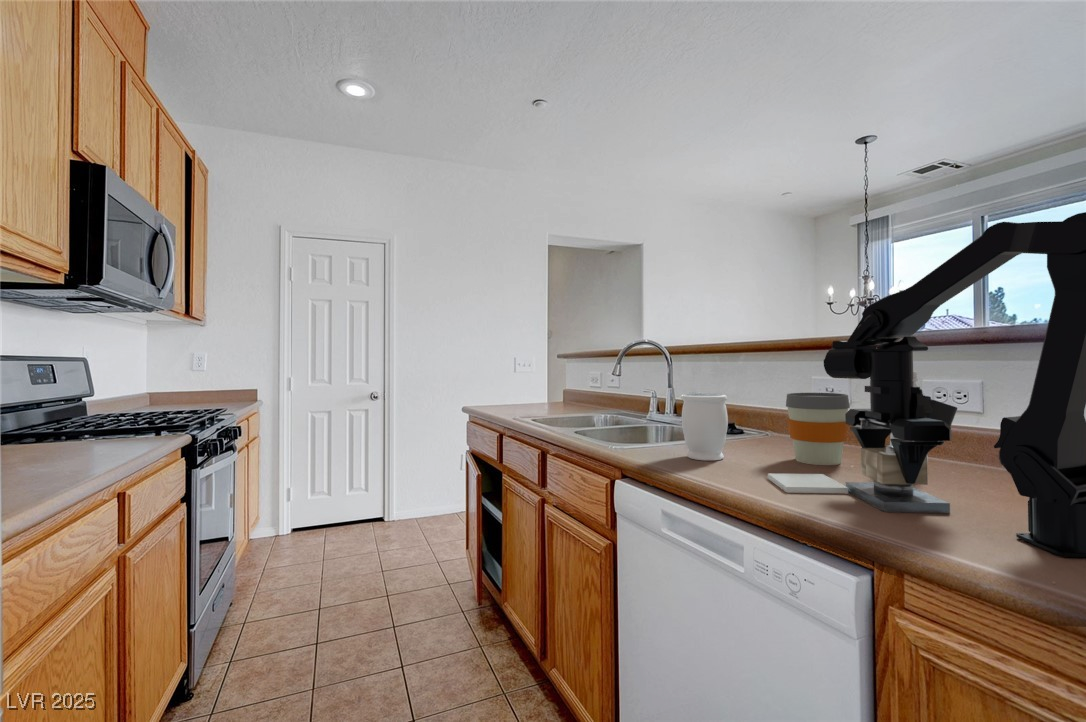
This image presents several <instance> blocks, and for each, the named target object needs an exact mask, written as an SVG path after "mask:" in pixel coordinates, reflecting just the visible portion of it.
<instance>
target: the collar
mask: <svg viewBox="0 0 1086 722" xmlns="http://www.w3.org/2000/svg"><path fill="white" fill-rule="evenodd" d="M860 460H861V461H860V467H861V468H860V469H861V475H862V476H864V477H866V478H868V479H871V480H873V481H874V480H875V481H877V482H879V483H881V484H908V483H906V482H905V479H904V477H903V474H902V472H901V469H900V466H899V463H898V460H897V457H896V454H887V453H885V448H862V447H861V448H860ZM928 481H929V480H928V463H927V456H926V458H925V460H924V462H923V465H922V467H921V470H920V472H919V475H918V477H917V480H916V482H915V483H914V484H911V485H913V486H914V485H921V486H923V485H925V486H926V485H927V486H928V483H929V482H928Z"/></svg>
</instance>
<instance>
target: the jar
mask: <svg viewBox="0 0 1086 722" xmlns="http://www.w3.org/2000/svg"><path fill="white" fill-rule="evenodd" d="M681 400H682V401H683V404H682V408H681V427H682V432H683V438H684V443H685V445H686V447H687V449H688V451H687V452H686V457H687V458H689V459H692V460H696V461H705V462H706V461H707V462H708V461H709V462H712V461H720V460H724V458H725V456H724V454H723V452H722V451H723V449H724V448H725V444H726V440H727V431H728V425H729V417H728V408H727V405H726V401H727V400H728V396H727V394H722V393H686V394H685V393H684V394H681Z"/></svg>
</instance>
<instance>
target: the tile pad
mask: <svg viewBox="0 0 1086 722" xmlns="http://www.w3.org/2000/svg"><path fill="white" fill-rule="evenodd" d="M767 480H769V481H770V482H771V483H773V484H775V485H776V486H777V487H778V488H780V489H781V490H782V491H783V492H785V493H787V494H790V493H791V494H793V493H794V494H796V493H797V494H845V495H846V494H847V495H848V494H849V492H848V487H846V485H844V484H842V483H841V482H838V481H836V480H835V479H833V478H831V477H829V476H827V475H826V474H824V473H771V472H770V473H767Z"/></svg>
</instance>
